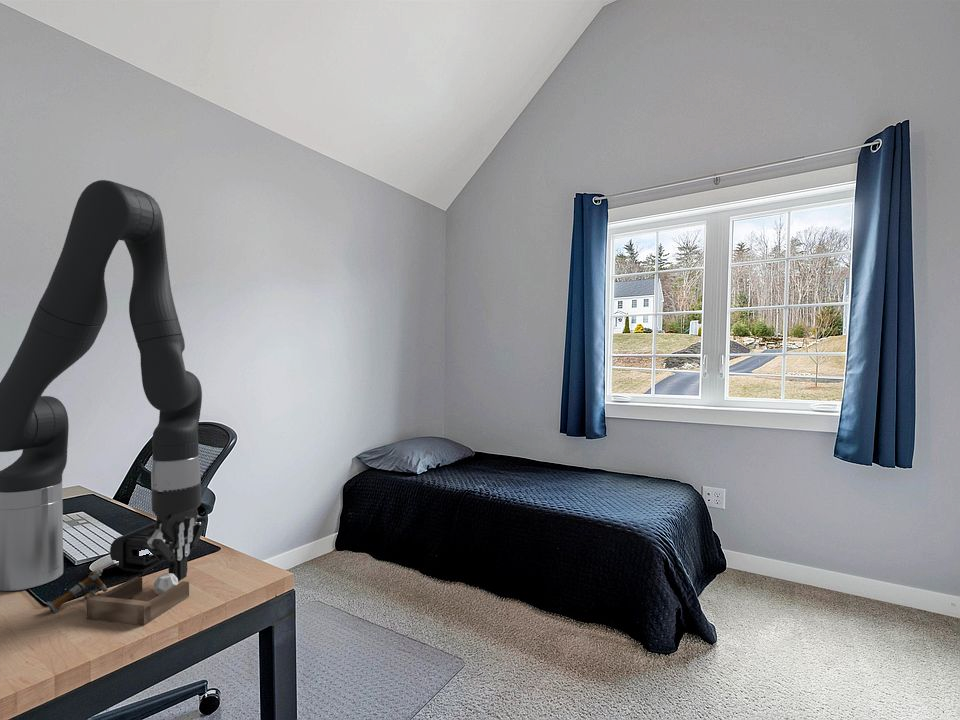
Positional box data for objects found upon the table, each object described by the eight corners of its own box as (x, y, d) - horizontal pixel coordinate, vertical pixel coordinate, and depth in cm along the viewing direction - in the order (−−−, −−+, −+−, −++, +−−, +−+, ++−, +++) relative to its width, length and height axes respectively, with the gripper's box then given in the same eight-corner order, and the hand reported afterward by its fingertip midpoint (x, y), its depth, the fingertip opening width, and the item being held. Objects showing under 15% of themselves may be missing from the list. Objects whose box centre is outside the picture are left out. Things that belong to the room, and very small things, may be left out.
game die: (158, 589, 89) (158, 572, 89) (181, 587, 89) (181, 570, 89) (149, 598, 85) (149, 581, 85) (174, 596, 86) (173, 579, 86)
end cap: (152, 550, 106) (152, 518, 106) (182, 553, 105) (181, 520, 104) (109, 571, 96) (108, 535, 96) (141, 574, 95) (141, 538, 95)
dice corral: (86, 618, 79) (86, 599, 79) (136, 590, 88) (136, 573, 88) (144, 625, 77) (144, 605, 77) (189, 596, 86) (189, 578, 86)
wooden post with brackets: (114, 587, 88) (102, 567, 86) (63, 625, 81) (49, 604, 80) (109, 584, 89) (97, 565, 87) (59, 622, 82) (44, 601, 81)
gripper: (184, 472, 97) (186, 562, 97) (126, 492, 84) (128, 595, 84) (220, 474, 96) (221, 564, 96) (166, 494, 83) (168, 598, 83)
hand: (178, 579), depth 90 cm, fingers closed
